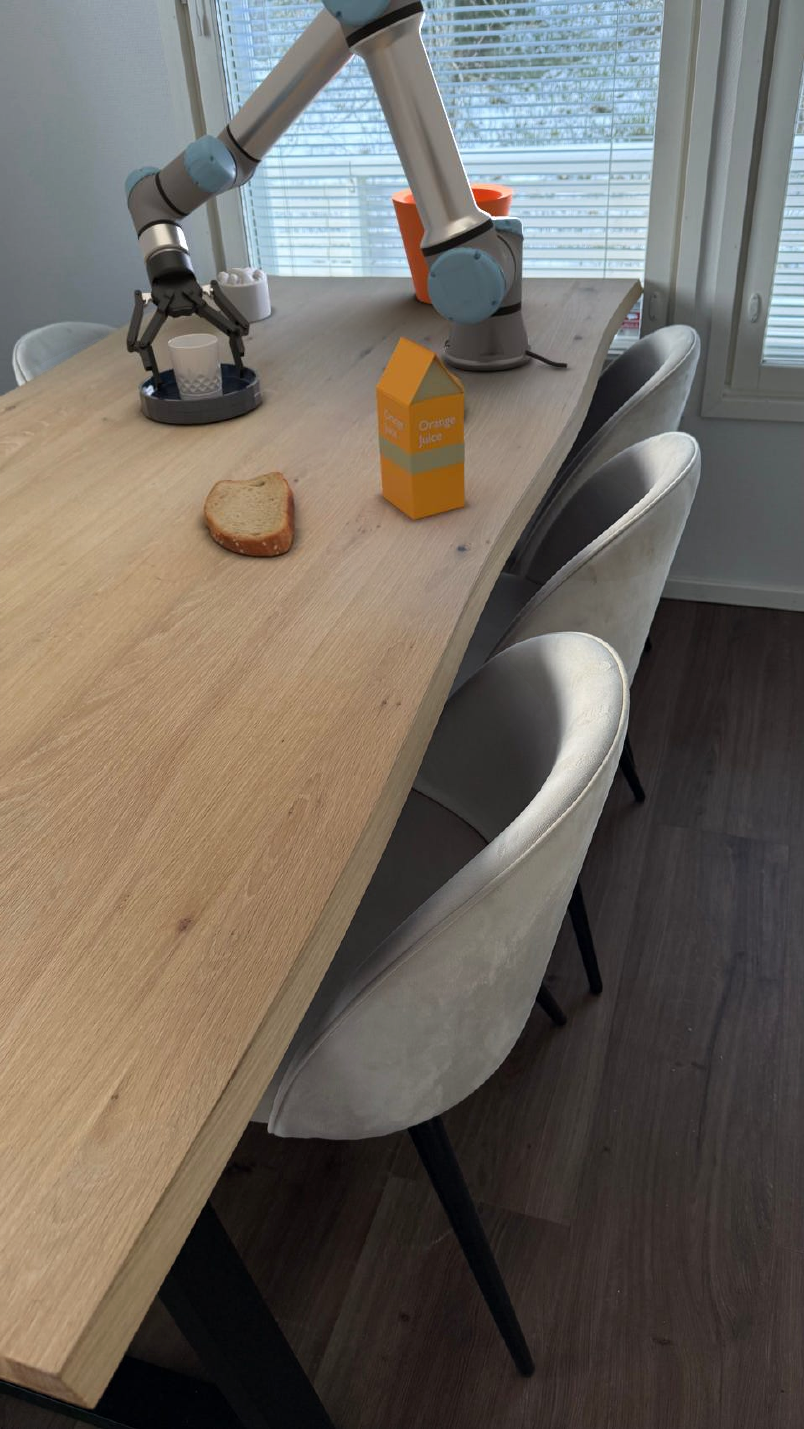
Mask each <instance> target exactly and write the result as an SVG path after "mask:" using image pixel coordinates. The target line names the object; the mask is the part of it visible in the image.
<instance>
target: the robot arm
mask: <svg viewBox="0 0 804 1429" xmlns="http://www.w3.org/2000/svg"><path fill="white" fill-rule="evenodd" d="M321 2H322V5H323V8H322V9H321V10H320V11H319V12H318V14H317V15H316V16H315V17H314V18H313V20H312V21H311V22H310V24H308V26H307V27H306V28H305V30H304V31H303V32H302V33H301V34H300V35H299V36H298V38H296V40H295V41H294V43H293V44H292V45H291V47H290V48H289V49H288V50H287V51H286V53H285V54H284V55H283V56H282V57H281V59H280V60H278V62H277V63H276V65H275V66H274V67H273V68H272V70H271V71H270V72H269V73H268V75H266V77H265V78H264V79H263V80H262V81H261V83H260V84H259V85H258V86H257V88H256V89H255V90H254V92H252V94H251V95H250V96H249V98H248V99H247V100H246V101H245V103H243V105H242V106H241V107H240V108H239V110H237V111H236V113H235V115H233V117H232V118H231V119H230V120H229V123H228V124H227V125H226V126H225V127H224V128H223V129H221V132H220V133H219V134H218V135H217V136H216V137H214V136H213V135H211V134H204V135H202V136H201V137H200V138H198V139H197V140H195V141H193V142H190V144H188V145H187V146H186V148H185V149H184V150H183V151H181V152H180V153H179V154H178V155H177V156H175V157H174V158H173V160H172V161H170V162H168V164H166V166H164V167H163V168H162V169H161V168H159V167H156V166H152V165H145V166H142V167H141V168H140V169H138V168H136V169H134V170H132V171H131V172H130V173H128V175H127V176H126V178H125V181H124V191H125V197H126V201H127V202H126V204H127V206H126V207H127V209H128V211H129V213H130V217H131V220H132V223H133V226H134V228H135V232H136V236H137V241H138V244H139V248H140V251H141V255H142V259H143V263H144V266H145V271H146V274H147V278H148V280H149V281H148V282H149V284H150V288H151V291H150V292H142V290H140V289H135V290H134V292H133V295H134V296H133V297H134V308H133V312H132V316H131V319H130V324H129V327H128V332H127V335H126V340H125V342H126V343H125V344H126V351H127V352H128V353H129V354H132V353H137V354H138V355H139V357H140V359H141V362H142V365H143V370H144V371H145V372H151V373H152V375H153V377H154V381H155V384H156V388H157V391H158V392H160V391H162V381H161V377H160V374H159V372H160V370H159V366H158V364H157V360H156V356H155V352H154V349H153V346H152V344H153V343H154V341H155V339H156V337H157V336H158V334H159V332H160V331H161V328H162V326H163V325H164V324H165V323H166V321H167V320H168V317H170V318H172V319H178V318H180V317H192V315H193V314H195V315H196V316H197V317H199V318H200V319H203V320H205V321H207V322H208V323H209V324H211V325H212V326H214V327H215V328H216V329H218V330H219V331H220V332H222V333H223V334H224V335H226V336H227V337H228V344H229V349H230V352H231V355H232V359H233V363H234V364H235V366H236V370H237V373H238V377H239V379H241V378H244V371H245V369H244V366H243V365H244V363H243V358H244V357H245V355H246V353H245V352H246V347H245V344H244V340H243V337H247V336H248V335H249V334H250V326H251V324H250V323H249V322H248V321H247V320H246V319H245V318H244V316H243V315H242V314H241V313H240V312H239V311H238V310H237V308H236V307H235V306H234V305H233V304H232V303H231V302H230V301H229V299H228V298H227V297H226V296H225V295H224V294H223V293H222V291H221V289H220V287H219V284H218V282H217V279H212V280H210V283H209V284H204V285H201V284H200V282H199V281H198V279H197V276H196V272H195V269H194V265H193V261H192V259H191V255H190V251H189V248H188V243H187V240H186V237H185V234H184V228H183V225H182V221H183V220H184V219H185V218H187V217H188V216H189V215H191V214H192V213H193V212H194V211H196V210H197V209H198V208H200V207H201V206H202V205H204V204H205V203H207V201H209V200H211V199H212V198H215V197H217V196H220V195H221V194H224V193H226V192H228V191H231V190H233V189H236V188H240V187H243V186H245V185H246V184H247V183H248V182H249V181H250V180H251V179H253V178H254V177H255V175H256V173H257V170H258V167H259V165H260V164H261V162H262V161H263V160H264V159H265V157H267V155H268V154H269V153H270V152H271V151H272V150H273V148H274V147H275V146H276V145H277V144H278V143H279V141H281V139H282V138H283V137H284V136H285V135H286V133H288V131H289V130H290V129H291V128H293V125H294V124H295V123H296V122H297V121H298V120H299V119H300V118H301V116H302V115H303V114H304V113H305V112H306V111H307V110H308V108H310V106H311V105H312V104H313V103H314V102H315V100H317V98H318V97H319V96H320V95H321V94H322V93H323V92H324V90H325V89H326V88H328V86H329V85H330V84H331V83H332V81H334V79H335V78H336V77H337V76H338V75H339V73H340V72H341V71H342V70H343V69H344V68H345V67H346V66H347V64H348V63H349V62H350V61H351V60H352V59H353V58H354V56H355V55H356V56H357V57H359V58H361V59H362V60H363V61H364V63H365V67H366V69H367V71H368V74H369V75H368V76H369V77H370V81H371V83H372V86H373V88H374V91H375V94H376V97H377V99H378V100H377V101H378V102H379V105H380V108H381V111H382V115H383V116H384V117H383V118H384V119H385V123H386V125H387V127H388V130H389V131H388V132H389V134H390V136H391V138H392V142H393V144H394V148H395V150H396V154H397V155H398V158H399V161H400V164H401V167H402V171H403V173H404V176H405V179H406V181H407V185H408V187H409V189H410V190H411V193H412V195H413V198H414V201H415V204H416V207H417V209H418V212H419V215H420V218H421V221H422V224H423V226H424V229H425V232H424V236H423V239H422V241H421V244H420V247H421V250H422V253H423V256H424V258H425V261H426V264H427V267H428V270H429V275H428V293H429V297H430V300H431V302H432V304H431V305H432V307H434V309H435V310H436V312H437V313H438V314H439V315H441V316H442V317H443V318H444V319H446V320H448V321H450V322H451V326H450V330H449V333H448V338H447V339H446V340H445V341H444V346H443V347H444V361H445V362H446V364H448V365H449V366H451V367H454V368H455V369H458V370H459V369H460V370H464V371H465V370H466V371H473V372H493V371H494V372H495V371H496V372H497V371H503V370H511V369H515V368H517V367H521V366H523V365H525V364H527V363H528V362H529V361H530V360H531V358H532V359H535V360H538V361H540V362H542V363H544V364H545V365H549V366H550V367H554V368H562V369H567V368H568V363H566V362H556V361H553V360H550V359H548V358H547V357H544V356H542V355H540V354H537V353H535V352H532V346H531V345H532V344H531V342H530V340H529V337H528V333H527V328H526V324H525V321H524V317H523V313H522V311H523V310H522V304H523V300H522V299H523V263H524V262H523V260H524V259H523V257H524V254H523V253H524V241H525V235H524V224H523V222H522V220H521V219H520V218H518V217H514V216H508V217H491V216H490V214H488V213H486V212H484V211H482V210H480V209H479V208H478V207H477V206H476V203H475V200H474V197H473V194H472V191H471V187H470V184H469V183H470V182H469V179H468V175H467V173H466V170H465V167H464V163H463V161H462V157H461V154H460V152H459V149H458V144H457V142H456V139H455V136H454V133H453V130H452V127H451V124H450V121H449V118H448V115H447V111H446V109H445V105H444V102H443V100H442V96H441V93H440V89H439V88H438V84H437V81H436V78H435V74H434V72H433V69H432V66H431V63H430V60H429V57H428V53H427V51H426V47H425V45H424V42H423V41H424V40H423V39H422V35H421V29H422V26H423V23H424V19H425V17H426V13H425V8H424V6H423V3H422V0H321ZM203 295H205V296H207V297H208V298H209V300H212V301H213V302H214V304H215V305H216V307H218V309H219V310H220V312H219V311H217V310H216V309H215V308H213V307H212V306H210V305H209V304H208V302H207V301H206V299H204V298H203ZM149 303H152V304H153V305H154V306H156V310H155V312H154V314H153V315H152V318H151V319H150V321H149V323H148V325H147V327H146V328H145V330H144V332H143V333H142V335H141V337H140V339H139V340H138V338H139V335H140V331H141V326H142V322H143V319H144V312H145V311H144V309H147V308H148V307H149ZM221 311H222V312H223V313H224V314H225V315H226V316H227V318H228V319H229V320H228V319H227V318H226V317H224V316H223V315H221Z"/></svg>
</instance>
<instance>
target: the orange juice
mask: <svg viewBox="0 0 804 1429" xmlns="http://www.w3.org/2000/svg"><path fill="white" fill-rule="evenodd" d="M450 374H451V373H450V371H449V370H448V369H447V368H446V366H445V365H444V364H443V362H442V361H441V359H440V358H439V356H438V355H437V354H436V351H432V350H430V349H429V348H426V347H425V346H422V345H420V344H419V343H416V342H415V341H412V340H411V339H408V338H406V337H404V336H402V335H400V338H399V341H398V342H397V346H396V347H395V349H394V351H393V353H392V355H391V357H390V359H389V361H388V363H387V364H386V368H385V369H384V371H383V374H382V375H381V377H380V380H379V381H378V383H377V385H375V392H376V409H377V427H378V428H377V429H378V448H379V457H380V458H379V459H380V474H381V491H382V497H383V498H384V499H385V500H387V501H388V502H390V504H392V505H393V506H395V507H396V508H397V509H398V510H400V511H401V512H402V513H403V514H405V515H407V517H409V518H410V519H411V520H414V521H415V520H418V519H419V520H420V519H422V518H426V517H429V516H435V515H438V514H441V513H445V512H449V511H452V510H456V509H459V508H463V507H465V506H466V503H465V502H466V499H465V497H466V493H465V491H466V490H465V489H466V487H465V462H466V461H465V460H466V459H465V458H466V457H465V456H466V455H465V454H466V453H465V451H466V449H465V446H466V445H465V414H464V413H465V405H464V393H463V392H462V390H461V389H460V387H459V386H458V385H457V383H456V382H455V380H454V379H453V378H452V376H451V375H450Z"/></svg>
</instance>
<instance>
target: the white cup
mask: <svg viewBox="0 0 804 1429" xmlns="http://www.w3.org/2000/svg"><path fill="white" fill-rule="evenodd" d="M218 340H219V339H218V337H217V336H216V335H214V334H210V333H191V334H184V335H179V336H176V337H173V338H171V339H170V340H169V341H168V342H167V347H168V351H169V355H170V356H169V357H170V359H171V364H172V365H171V366H172V368H173V370H174V374H175V377H176V382H177V386H178V388H179V390H180V391H179V392H180V397H181V400H195V399H204V398H211V397H217V396H221V395H223V394H222V386H221V385H222V379H221V367H220V363H221V358H220V351H219V350H220V348H219V341H218Z"/></svg>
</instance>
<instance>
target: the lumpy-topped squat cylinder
mask: <svg viewBox="0 0 804 1429" xmlns="http://www.w3.org/2000/svg"><path fill="white" fill-rule="evenodd" d="M216 281H217V282H218V284H219V287H220V289H221V291H222V293H223V294H224V295H225V296H226V297H227V298H228V299H229V301H230V302H231V303H232V304H233V305H234V306H235V307H236V308H237V310H238V311H239V312H240V313H241V314H242V315H243V316H244V318H245V319H246V320H247V321H248V322H249V324H250V323H254V322H258V321H262V320H264V319H266V318H268V317H269V316H270V315H271V313H272V309H271V300H270V293H269V285H268V277H267V273H266V272H265V271H264V270H262V269H256V268H254V267H250V266H245V267H234V268H233V267H232V268H230V269H228V271H227V272H225V271H220V272H219V273H218V274H217V276H216ZM220 314H221V315H223V316H224V317H226V318H227V316H226V315H225V314H224V313H223V312H222V311H221V310H220ZM227 319H228V318H227ZM228 320H229V319H228Z"/></svg>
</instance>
